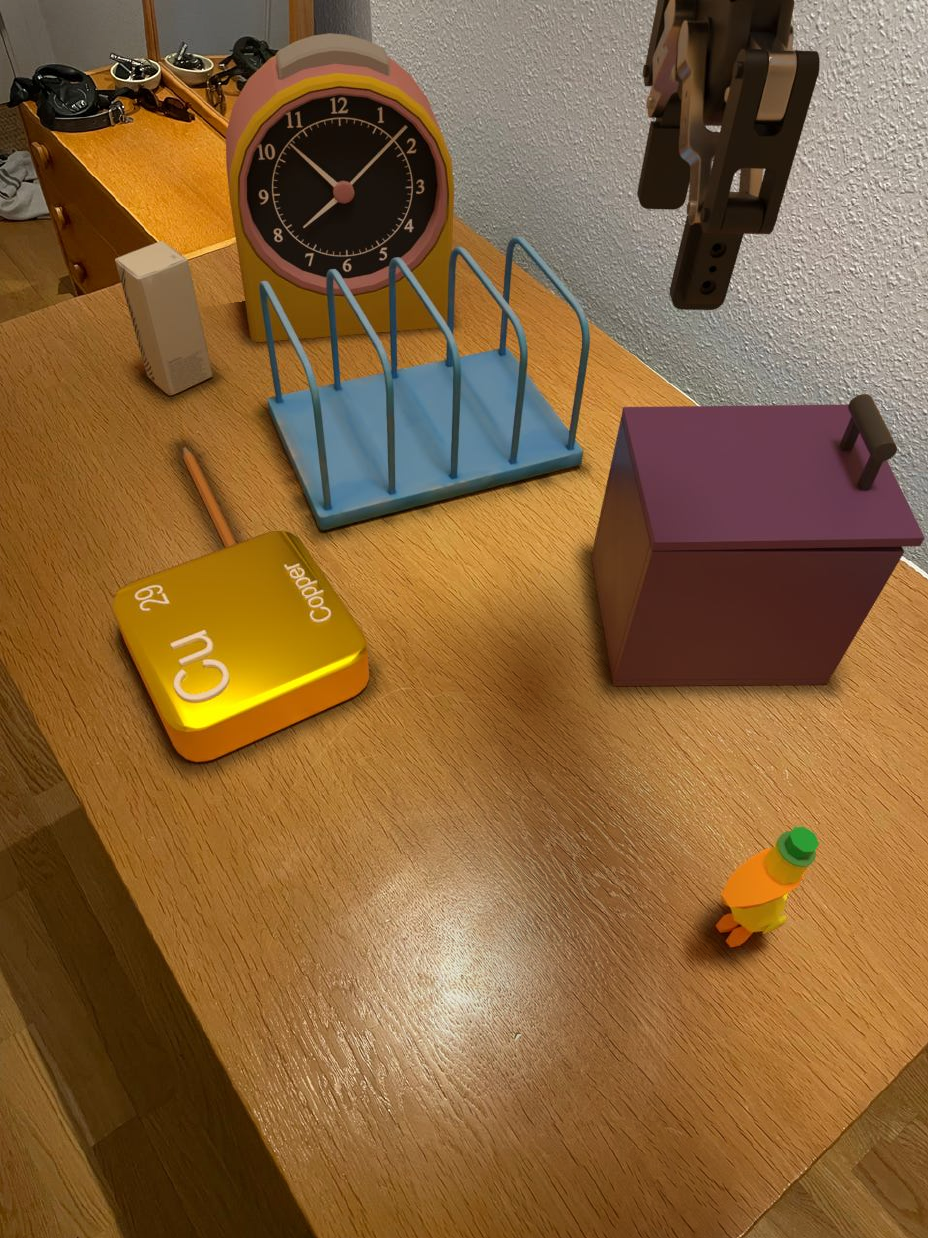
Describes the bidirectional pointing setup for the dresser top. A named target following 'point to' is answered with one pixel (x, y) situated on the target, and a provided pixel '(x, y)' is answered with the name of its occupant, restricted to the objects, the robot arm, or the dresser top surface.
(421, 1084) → the dresser top surface
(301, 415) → the file sorter
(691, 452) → the lid
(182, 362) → the box
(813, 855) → the toy figure
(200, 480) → the pencil
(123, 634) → the element tile
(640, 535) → the box
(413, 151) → the alarm clock
